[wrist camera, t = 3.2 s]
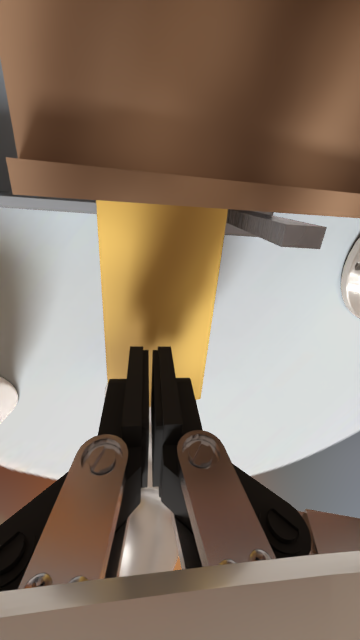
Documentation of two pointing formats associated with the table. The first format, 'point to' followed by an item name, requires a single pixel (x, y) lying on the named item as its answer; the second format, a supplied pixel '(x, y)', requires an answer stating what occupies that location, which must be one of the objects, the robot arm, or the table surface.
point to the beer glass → (7, 398)
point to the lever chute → (181, 139)
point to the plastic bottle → (149, 531)
